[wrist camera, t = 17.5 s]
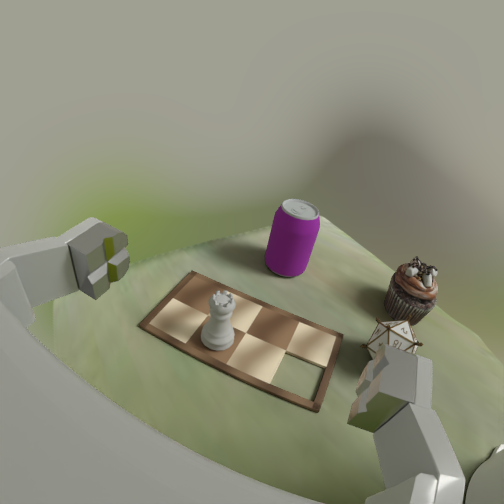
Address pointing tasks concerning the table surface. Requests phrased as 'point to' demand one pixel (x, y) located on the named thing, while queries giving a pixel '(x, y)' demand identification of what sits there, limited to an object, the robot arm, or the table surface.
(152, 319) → the board
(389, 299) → the cupcake
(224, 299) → the rook chess piece
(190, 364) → the table surface
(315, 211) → the beverage can
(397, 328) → the game die
